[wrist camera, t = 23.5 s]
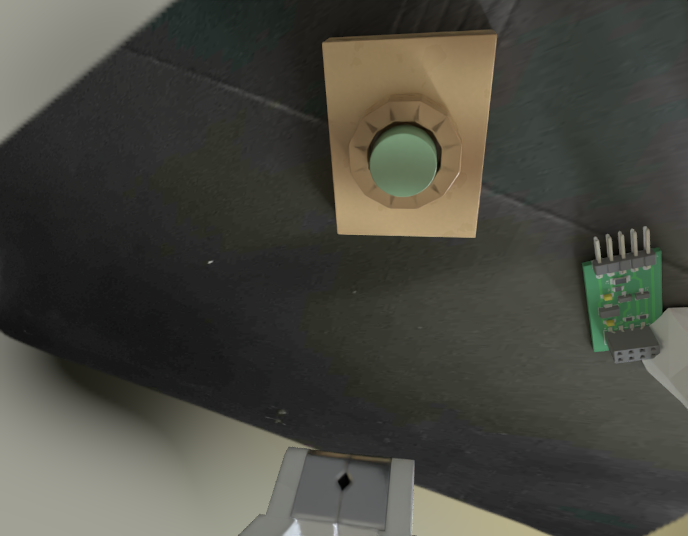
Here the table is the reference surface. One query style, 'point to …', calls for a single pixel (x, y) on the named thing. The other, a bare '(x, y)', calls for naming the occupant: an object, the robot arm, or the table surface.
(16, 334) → the table surface
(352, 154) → the button block
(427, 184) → the button
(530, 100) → the table surface
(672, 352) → the figurine
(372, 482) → the robot arm
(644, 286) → the circuit board
